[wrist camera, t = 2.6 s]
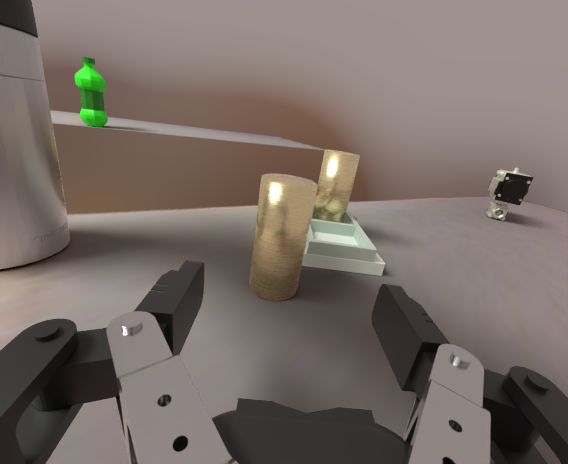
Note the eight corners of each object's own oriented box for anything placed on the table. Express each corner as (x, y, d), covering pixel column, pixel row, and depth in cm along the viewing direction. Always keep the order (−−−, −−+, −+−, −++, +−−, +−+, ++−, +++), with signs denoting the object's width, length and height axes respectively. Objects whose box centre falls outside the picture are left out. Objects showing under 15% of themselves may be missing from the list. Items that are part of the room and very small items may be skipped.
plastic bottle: (76, 123, 115) (67, 54, 106) (104, 125, 123) (98, 61, 114) (85, 126, 110) (76, 54, 100) (113, 128, 118) (108, 61, 108)
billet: (246, 297, 23) (259, 182, 20) (251, 270, 28) (263, 171, 24) (298, 303, 24) (321, 191, 20) (295, 276, 28) (314, 178, 24)
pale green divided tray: (292, 264, 30) (297, 239, 29) (289, 220, 43) (292, 202, 42) (381, 275, 30) (389, 251, 29) (351, 229, 43) (356, 211, 42)
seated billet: (312, 228, 37) (327, 152, 33) (309, 217, 41) (322, 148, 37) (345, 232, 37) (364, 157, 33) (338, 221, 41) (354, 153, 38)
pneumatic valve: (500, 214, 71) (522, 168, 66) (511, 226, 61) (538, 172, 56) (476, 209, 73) (495, 163, 68) (482, 219, 63) (506, 167, 58)
